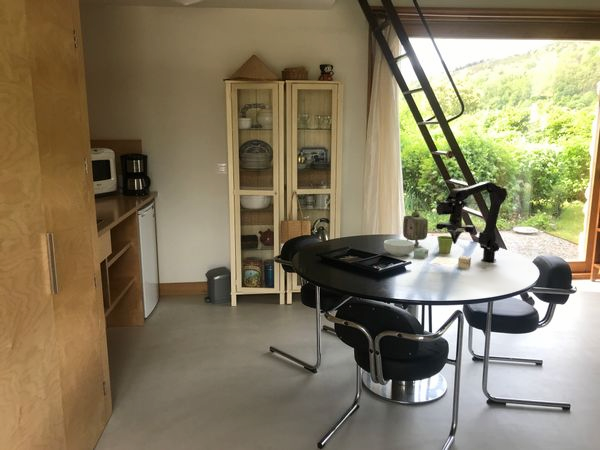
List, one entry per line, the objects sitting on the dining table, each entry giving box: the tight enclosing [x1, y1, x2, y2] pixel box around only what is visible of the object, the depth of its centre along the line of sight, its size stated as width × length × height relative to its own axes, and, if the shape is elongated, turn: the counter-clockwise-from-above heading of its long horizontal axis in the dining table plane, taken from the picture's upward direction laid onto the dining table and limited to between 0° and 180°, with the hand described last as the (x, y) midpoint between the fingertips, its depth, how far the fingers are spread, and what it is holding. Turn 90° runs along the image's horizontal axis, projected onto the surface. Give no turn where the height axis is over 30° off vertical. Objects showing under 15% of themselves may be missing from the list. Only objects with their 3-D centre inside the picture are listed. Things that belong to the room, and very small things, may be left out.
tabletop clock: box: [402, 203, 429, 248], centre depth 293 cm, size 14×9×25 cm, turn 17°
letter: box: [428, 256, 459, 268], centre depth 255 cm, size 18×13×1 cm
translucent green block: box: [413, 247, 430, 260], centre depth 265 cm, size 6×6×4 cm
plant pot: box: [436, 235, 453, 254], centre depth 275 cm, size 9×9×9 cm
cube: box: [457, 255, 472, 270], centre depth 245 cm, size 5×5×5 cm
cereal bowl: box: [383, 238, 415, 257], centre depth 270 cm, size 17×17×7 cm
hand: (454, 243), depth 249 cm, fingers closed
